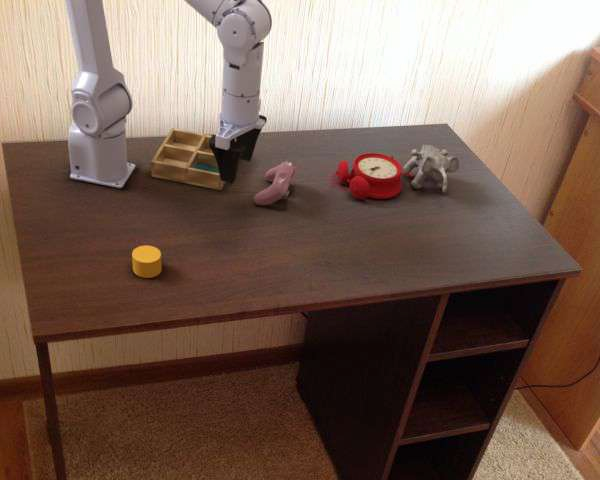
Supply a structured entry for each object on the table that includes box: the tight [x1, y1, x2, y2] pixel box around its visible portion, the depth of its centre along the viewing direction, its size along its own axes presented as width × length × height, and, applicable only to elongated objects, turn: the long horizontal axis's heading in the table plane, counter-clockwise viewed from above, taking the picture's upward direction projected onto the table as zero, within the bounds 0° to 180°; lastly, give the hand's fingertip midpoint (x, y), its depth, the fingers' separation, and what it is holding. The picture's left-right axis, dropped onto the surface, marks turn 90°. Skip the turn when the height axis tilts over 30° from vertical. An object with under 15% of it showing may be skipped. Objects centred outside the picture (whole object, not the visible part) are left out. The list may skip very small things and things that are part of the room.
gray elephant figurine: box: [402, 144, 460, 194], centre depth 142 cm, size 9×12×8 cm
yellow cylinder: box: [131, 244, 162, 279], centre depth 117 cm, size 4×4×3 cm
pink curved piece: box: [253, 160, 298, 206], centre depth 135 cm, size 10×5×7 cm, turn 168°
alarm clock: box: [330, 152, 414, 201], centre depth 141 cm, size 10×6×15 cm
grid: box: [150, 127, 226, 191], centre depth 139 cm, size 13×13×3 cm
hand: (236, 169), depth 123 cm, fingers open, 7 cm apart
